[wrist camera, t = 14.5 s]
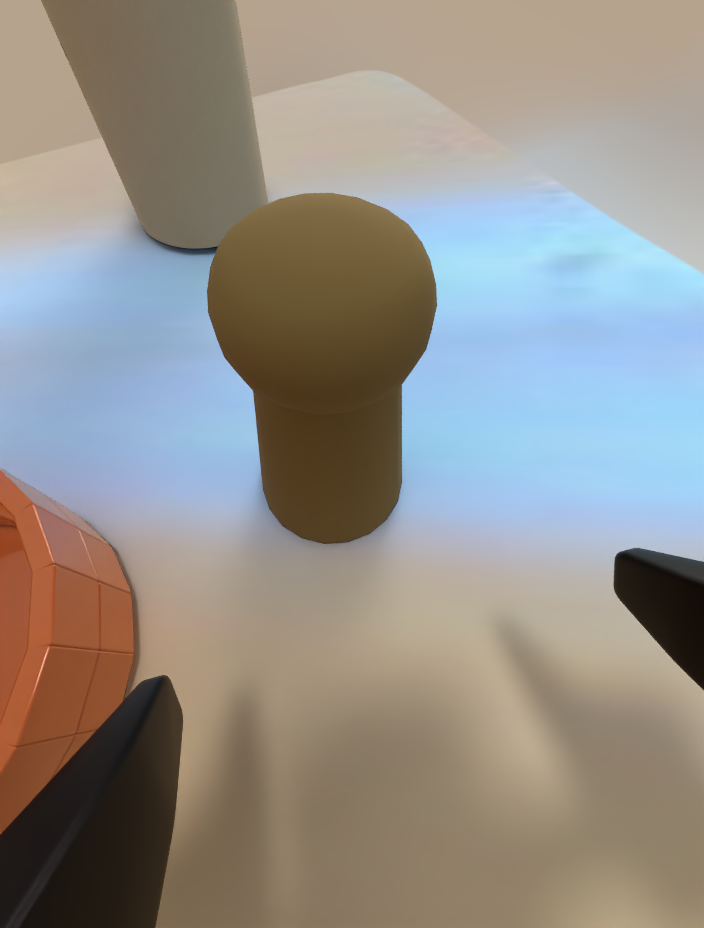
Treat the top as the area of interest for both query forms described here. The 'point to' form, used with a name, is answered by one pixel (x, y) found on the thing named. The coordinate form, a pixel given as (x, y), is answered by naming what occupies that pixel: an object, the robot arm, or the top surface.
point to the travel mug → (170, 109)
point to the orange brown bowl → (54, 639)
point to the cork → (325, 352)
